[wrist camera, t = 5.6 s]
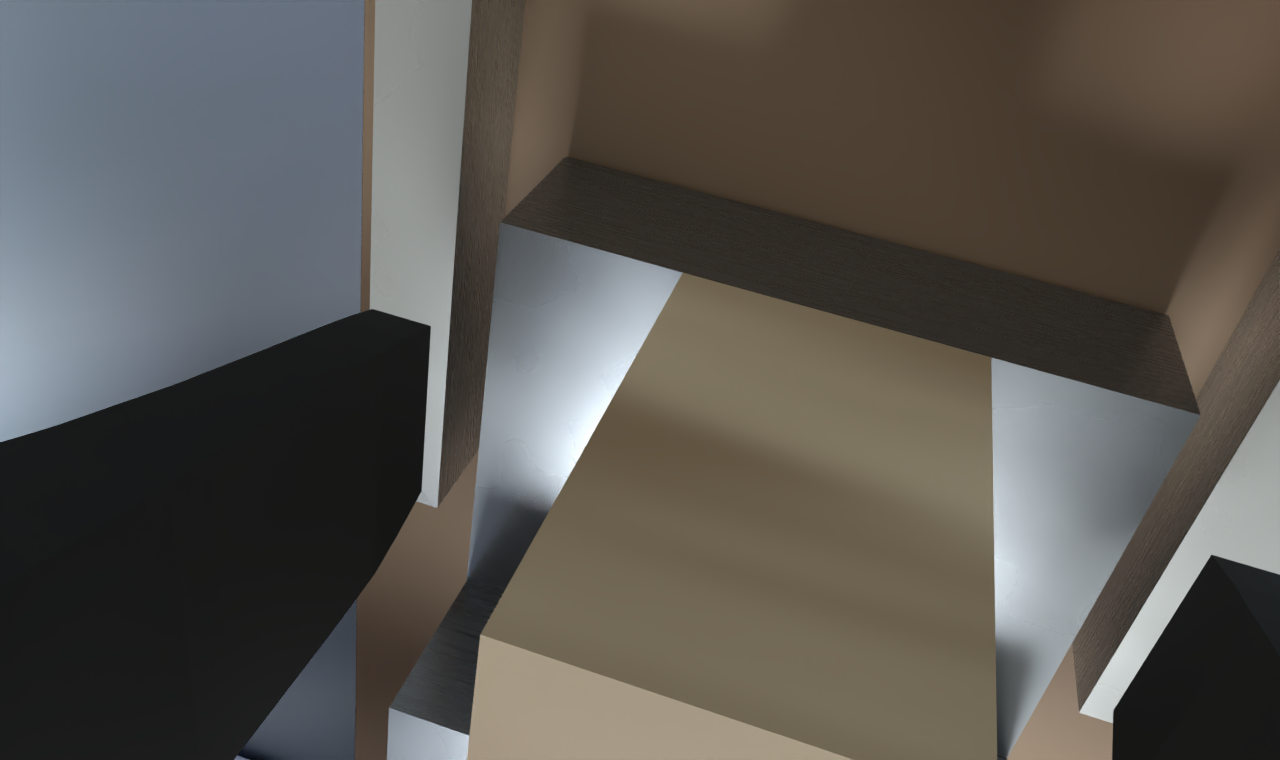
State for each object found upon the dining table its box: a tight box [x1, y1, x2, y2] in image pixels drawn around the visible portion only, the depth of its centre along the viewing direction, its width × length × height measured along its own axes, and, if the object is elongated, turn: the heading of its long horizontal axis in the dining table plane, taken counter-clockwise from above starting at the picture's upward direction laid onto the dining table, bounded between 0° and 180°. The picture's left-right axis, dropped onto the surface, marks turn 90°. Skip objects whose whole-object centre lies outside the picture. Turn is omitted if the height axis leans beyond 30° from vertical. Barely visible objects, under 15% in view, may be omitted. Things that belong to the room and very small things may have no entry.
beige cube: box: [387, 156, 1201, 760], centre depth 11 cm, size 7×7×7 cm
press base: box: [355, 0, 1280, 760], centre depth 13 cm, size 22×12×6 cm, turn 171°
